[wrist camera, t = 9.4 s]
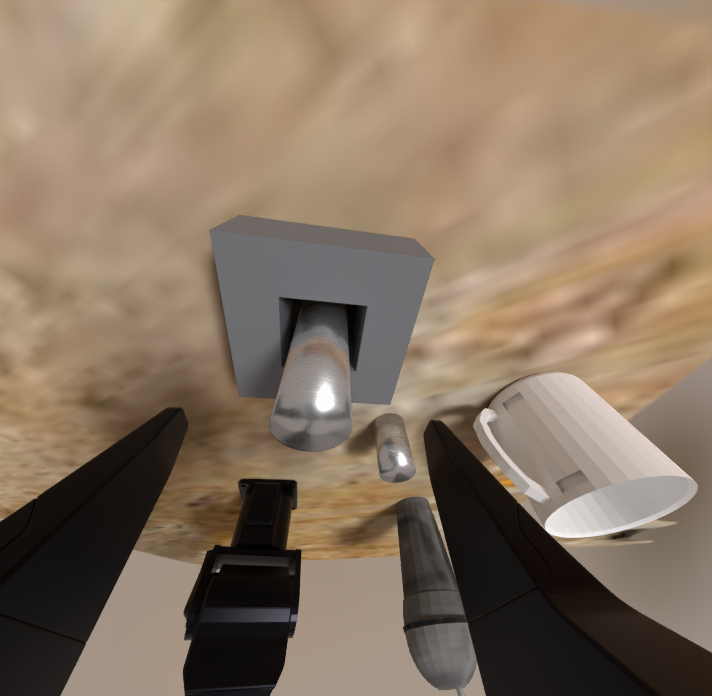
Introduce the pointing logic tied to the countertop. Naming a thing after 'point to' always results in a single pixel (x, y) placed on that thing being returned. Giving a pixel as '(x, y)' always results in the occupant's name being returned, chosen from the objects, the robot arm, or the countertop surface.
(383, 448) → the short pin
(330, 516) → the countertop surface
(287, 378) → the long pin
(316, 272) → the hole block
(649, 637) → the robot arm
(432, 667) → the beverage cup
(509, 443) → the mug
